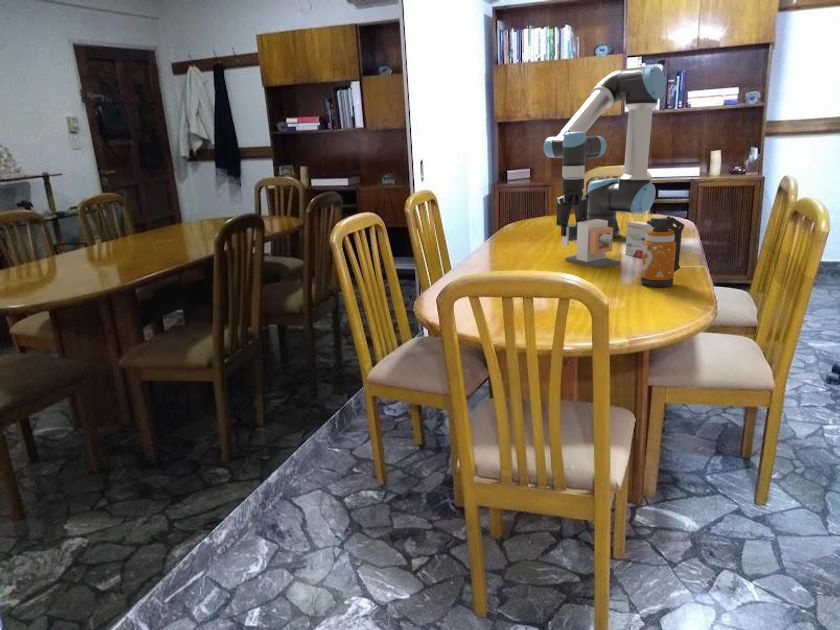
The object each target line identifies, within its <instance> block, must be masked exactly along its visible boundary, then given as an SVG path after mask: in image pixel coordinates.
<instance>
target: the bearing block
mask: <svg viewBox="0 0 840 630" xmlns="http://www.w3.org/2000/svg"><path fill="white" fill-rule="evenodd" d="M607 226H608V221H607V220H600V219H594V220H588V221H582V222H578V227H577V243H576V255H570V256H566V257H564V260H565V261H567V262H571V263H577V264H580V265H585V266H588V267H593V268H597V269H601V268H605V267H610V266H615V265H619V264H621V260H618V259H614V258H611V257H607V252H605V253H599V254H591V253H589V249H590V230H592V229H598V228H604V227H607ZM602 246H604V243H603V242H599V243H598V247H602Z"/></svg>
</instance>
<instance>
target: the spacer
mask: <svg viewBox="0 0 840 630" xmlns="http://www.w3.org/2000/svg"><path fill="white" fill-rule="evenodd" d="M600 234H610V235H612V236H613V228H611V227H604V228H598V229H592V230H590V249H589V253H591V254H599V253H605V252H606V253H609V252H612V251H613V241H612V242H611V243H610V244H608V243H604V246H602V247H598V243H599V235H600Z"/></svg>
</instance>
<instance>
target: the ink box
mask: <svg viewBox="0 0 840 630" xmlns="http://www.w3.org/2000/svg"><path fill="white" fill-rule="evenodd" d="M652 229H654V227H651V225H650V224H647V222H644V221H636V220H635V221H628V222H626V238H625V251H624V252H625V253H624V254H625V255H626V254H627V256H631V257H636V258H639V259H642V254H643V242H644V241H645V239H646V233H647V231H648V230H652Z"/></svg>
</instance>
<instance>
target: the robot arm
mask: <svg viewBox="0 0 840 630" xmlns="http://www.w3.org/2000/svg"><path fill="white" fill-rule="evenodd" d="M666 83H667V82H666V78H665V74H664V72H663V70H662V69H661V68H660V67H658V66H656V65H654V66H653V65H651V66H648V65H647V66H646V65H645V66H640V67H639V66H638V67H630V68H619V69H617V70H614V71H612V72H611V73H609V74H608V75H606V76H604V77H603V79H601V80H600V81H599V82H597V84H595V86H594V87H593V88H592V89H591V92H590V96H589V97H588V98H587V99H586V101H585V102H584V103H583V104H582V105H581V107H580V108H578V110H577V111H576V113H575V114H574V115H573V116H572V117H571V119H569V120H568V122H567V123H566V124H565V125H564V127H563V128H562V129H561V130H560V132H559V133H558V134H557V136H556V135H555V136H549V137H547V138H546V139H545V140H544V144H543V152H544V154H545V156H546V157H547V158H553V159H554V158H555V159H562V170H561V171H562V173H561V176H562V180H561V181H562V182H561V189H562V190H563V191H562V195H561V196H560V197H556V198H555V203H556V222H555V223H556V226H558V227H560V236H562V239H561V245H562V246H567V247H569V246H570V243H569V242H570V241H569V227H567V226H568V224H569V220H570V215H571V213H572V212H571V211H572V209H573V212H574V217H575V224H578V222H582V221H588V220H594V219H600V220H607V221H608V226H607V227H611V228H613V239H614V238H618V237H620V235H621V234H620V233H621V232H620V231H621V229H620V226H619V223H618V220H617V219H618V218H617V212H618V213H628V214H629V213H630V214H631V213H632V214H644V213H645V214H646V212H648V211H649V210H650V209H651V207H652V206H653V203H654V201H655V199H656V194H657V193H656V191H657V190H656V187H655V185H654V184H653V183H652V182H651V177H650V176H649V175H648V166H649V153H650V142H651V133H652V132H651V131H652V130H651V129H652V121H653V120H652V119H653V109H654V108H655V107H657V106H658V101H659V100H660V99H662V98H663V97H664V95H665V92H666ZM624 101H625V102H624ZM618 102H624V103H625V104H624V105H625V107H626V108H627V110H628V114H627V115H628V117H627V127H626V128H627V130H626V139H625V140H626V141H625V142H626V143H625V153H624V155H625V156H624V168H623V174H622V175H621V176H620V177H619V178H605V179H598V180H593V181H590V182H589V183H588V185H587V187H588V188H587V194H585V193H584V192H583V190H584V188H585V178H584V177H585V170H586V169H585V167H586V159H587V160H589V159H597V158H600V157H602V156H603V155H604V154H605V153H606V152H607V141H606V140H605V138H604V137H603V136H601V135H600V136H599V135H592V136H590V135H589V136H587V132H588V130H589V129H590V128H591V127H592V125H594V123H595V122H596V121H597V120H598V118H599V117H600V116H601V115H602V113H603V112H604V111H605V110H606V109H609V108H610V107H612V106H613V104H614V103H618ZM573 243H575V244H577V240H574V241H573Z"/></svg>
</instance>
